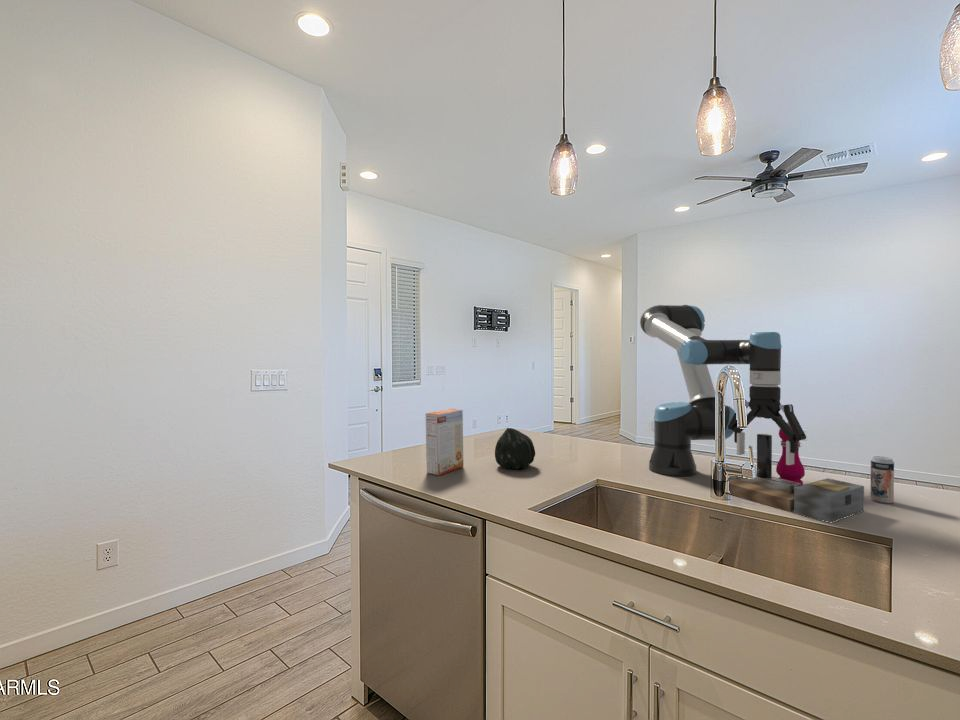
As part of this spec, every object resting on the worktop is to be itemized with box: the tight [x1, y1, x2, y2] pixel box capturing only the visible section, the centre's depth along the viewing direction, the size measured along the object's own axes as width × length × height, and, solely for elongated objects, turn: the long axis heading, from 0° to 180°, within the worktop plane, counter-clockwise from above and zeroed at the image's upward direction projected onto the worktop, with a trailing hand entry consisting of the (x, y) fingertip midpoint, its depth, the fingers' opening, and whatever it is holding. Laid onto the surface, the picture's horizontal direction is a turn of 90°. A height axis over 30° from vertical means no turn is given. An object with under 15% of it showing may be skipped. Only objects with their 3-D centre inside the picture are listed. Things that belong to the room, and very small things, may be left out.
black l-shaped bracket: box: [756, 433, 801, 492], centre depth 124 cm, size 12×4×14 cm, turn 28°
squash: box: [494, 427, 536, 470], centre depth 158 cm, size 14×15×15 cm
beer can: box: [869, 455, 895, 505], centre depth 120 cm, size 5×5×12 cm
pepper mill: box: [775, 421, 806, 485], centre depth 135 cm, size 7×7×20 cm
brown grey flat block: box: [728, 472, 865, 522], centre depth 121 cm, size 27×17×7 cm, turn 28°
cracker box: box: [425, 408, 464, 476], centre depth 154 cm, size 14×6×21 cm, turn 144°
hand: (764, 459), depth 126 cm, fingers open, 13 cm apart
